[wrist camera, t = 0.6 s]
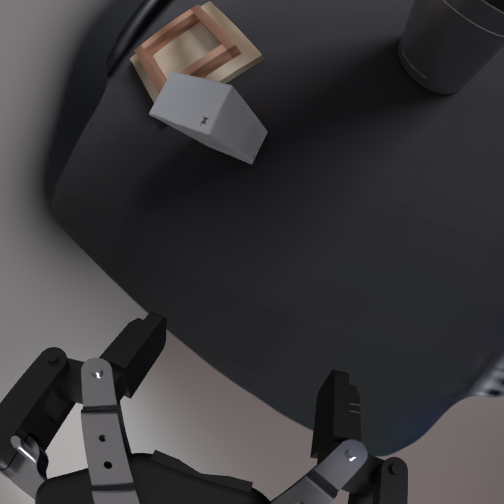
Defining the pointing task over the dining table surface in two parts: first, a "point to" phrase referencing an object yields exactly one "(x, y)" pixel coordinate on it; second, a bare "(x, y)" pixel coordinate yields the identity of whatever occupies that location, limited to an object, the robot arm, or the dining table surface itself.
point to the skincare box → (210, 115)
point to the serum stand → (195, 50)
